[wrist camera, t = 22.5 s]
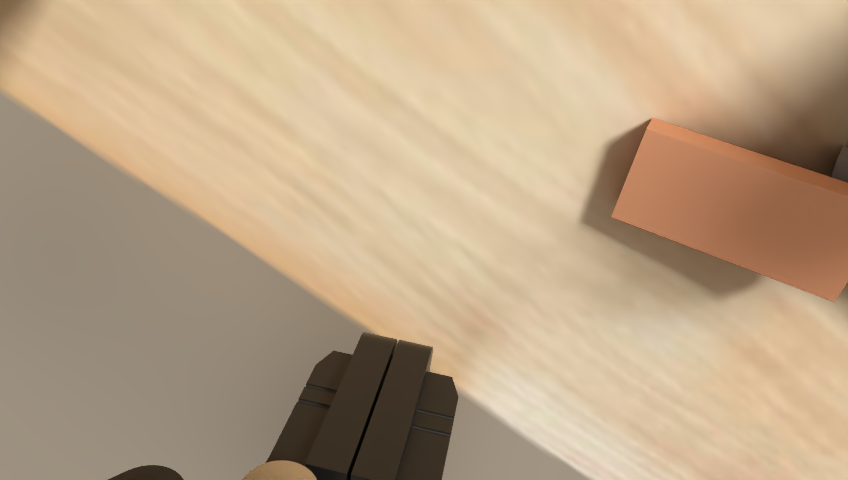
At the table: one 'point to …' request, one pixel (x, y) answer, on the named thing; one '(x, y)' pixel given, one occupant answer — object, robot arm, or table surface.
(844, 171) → the domino
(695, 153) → the domino
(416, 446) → the robot arm
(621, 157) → the table surface
